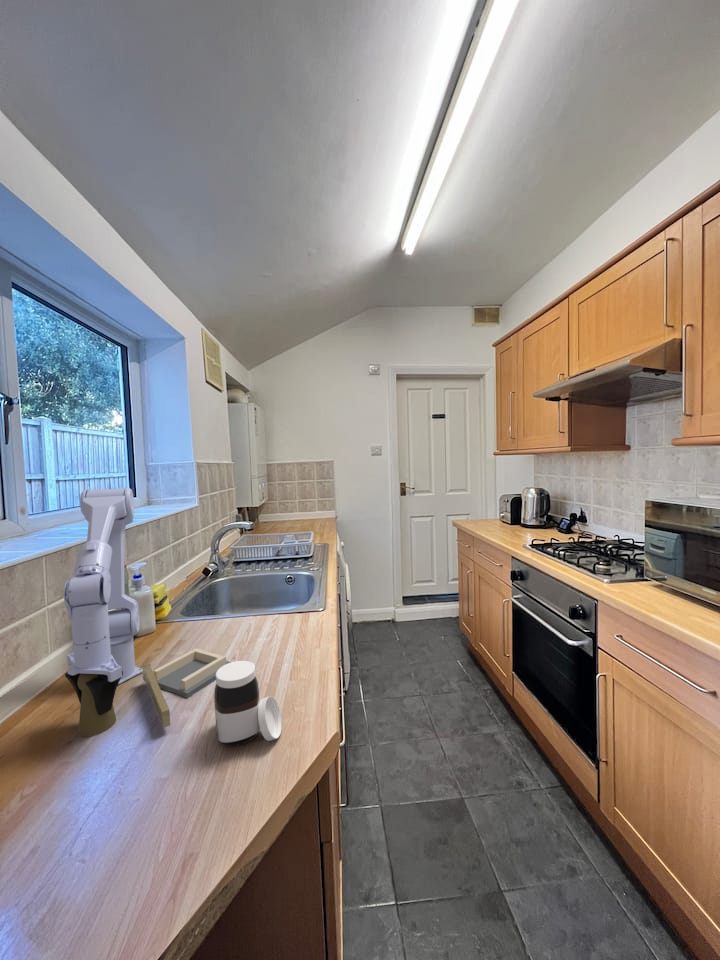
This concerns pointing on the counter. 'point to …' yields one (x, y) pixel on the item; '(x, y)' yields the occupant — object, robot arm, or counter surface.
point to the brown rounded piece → (92, 711)
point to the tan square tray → (189, 672)
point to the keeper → (156, 696)
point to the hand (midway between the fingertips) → (96, 707)
